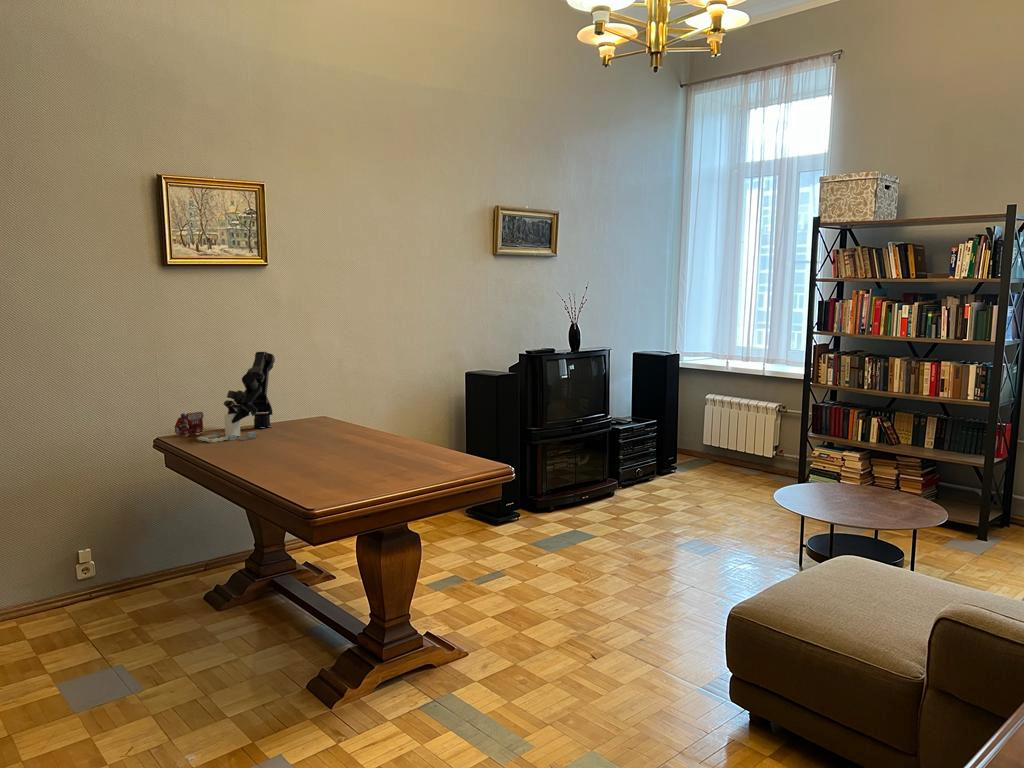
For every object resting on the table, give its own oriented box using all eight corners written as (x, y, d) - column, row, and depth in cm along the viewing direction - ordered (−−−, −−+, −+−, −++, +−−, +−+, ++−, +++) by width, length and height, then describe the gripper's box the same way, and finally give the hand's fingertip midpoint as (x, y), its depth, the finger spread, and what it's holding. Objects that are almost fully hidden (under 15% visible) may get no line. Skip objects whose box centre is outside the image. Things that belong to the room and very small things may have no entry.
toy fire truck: (173, 435, 341) (171, 413, 340) (201, 432, 349) (200, 410, 348) (177, 437, 336) (176, 414, 335) (206, 434, 343) (204, 412, 342)
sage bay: (215, 437, 335) (215, 434, 334) (229, 439, 328) (229, 436, 328) (196, 440, 328) (196, 437, 327) (210, 443, 321) (210, 439, 321)
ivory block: (234, 435, 338) (233, 413, 337) (240, 436, 336) (239, 414, 334) (225, 436, 335) (224, 414, 334) (231, 437, 332) (229, 415, 331)
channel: (231, 431, 348) (230, 427, 348) (263, 437, 333) (263, 432, 333) (205, 436, 338) (204, 431, 338) (237, 441, 323) (236, 437, 322)
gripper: (226, 382, 341) (205, 409, 334) (249, 384, 330) (228, 412, 323) (242, 397, 348) (222, 424, 341) (266, 400, 337) (245, 428, 330)
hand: (229, 422), depth 333 cm, fingers closed on ivory block, 5 cm apart
